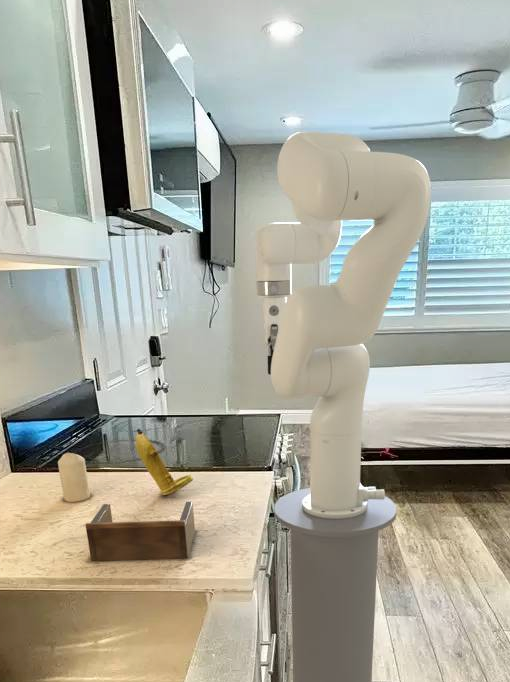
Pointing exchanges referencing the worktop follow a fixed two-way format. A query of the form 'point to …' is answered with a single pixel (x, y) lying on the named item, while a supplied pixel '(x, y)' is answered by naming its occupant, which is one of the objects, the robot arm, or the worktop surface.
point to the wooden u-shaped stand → (140, 537)
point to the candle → (73, 477)
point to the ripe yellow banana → (158, 466)
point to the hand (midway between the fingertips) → (275, 370)
